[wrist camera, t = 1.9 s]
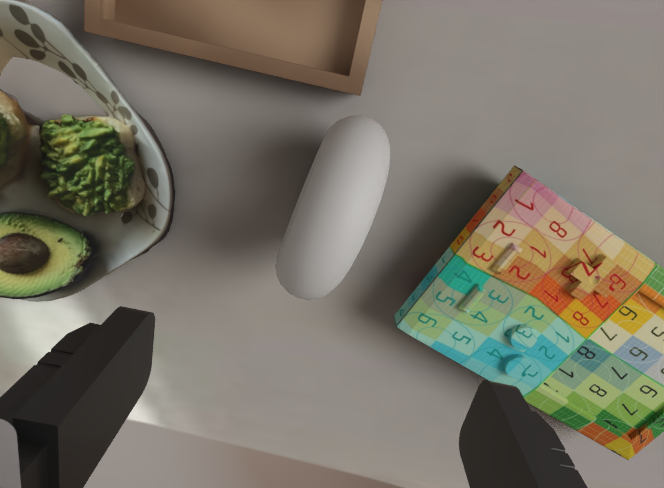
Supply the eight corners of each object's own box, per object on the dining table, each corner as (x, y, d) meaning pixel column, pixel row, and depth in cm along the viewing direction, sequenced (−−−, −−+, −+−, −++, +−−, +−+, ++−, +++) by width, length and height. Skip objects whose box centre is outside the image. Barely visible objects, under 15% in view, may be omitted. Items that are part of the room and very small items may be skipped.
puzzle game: (529, 174, 23) (785, 352, 26) (499, 156, 27) (722, 311, 31) (397, 334, 27) (635, 471, 30) (390, 297, 31) (599, 420, 35)
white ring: (327, 261, 30) (319, 348, 21) (280, 242, 29) (249, 322, 20) (392, 120, 26) (417, 150, 17) (339, 97, 26) (334, 113, 17)
